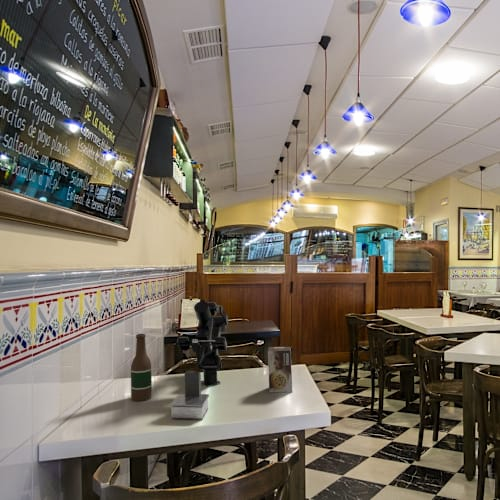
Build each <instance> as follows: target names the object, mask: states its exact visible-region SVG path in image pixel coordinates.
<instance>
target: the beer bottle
mask: <svg viewBox="0 0 500 500" xmlns="http://www.w3.org/2000/svg"><path fill="white" fill-rule="evenodd" d="M146 336H147V335H146V334H145V333H138V334H136V336H135V339H136V343H135V344H136V345H135V347H136V348H135V350H136V351H135V356H134V358H133V359H132V362H131V365H130V395H131V397H130V398H131V401H134V402H139V403H140V402H145V401H148V400H150V399H151V398H152V390H153V389H152V388H153V387H152V362H151V358H150V356H148V355H147V348H146V347H147V346H146V345H147V344H146Z"/></svg>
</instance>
